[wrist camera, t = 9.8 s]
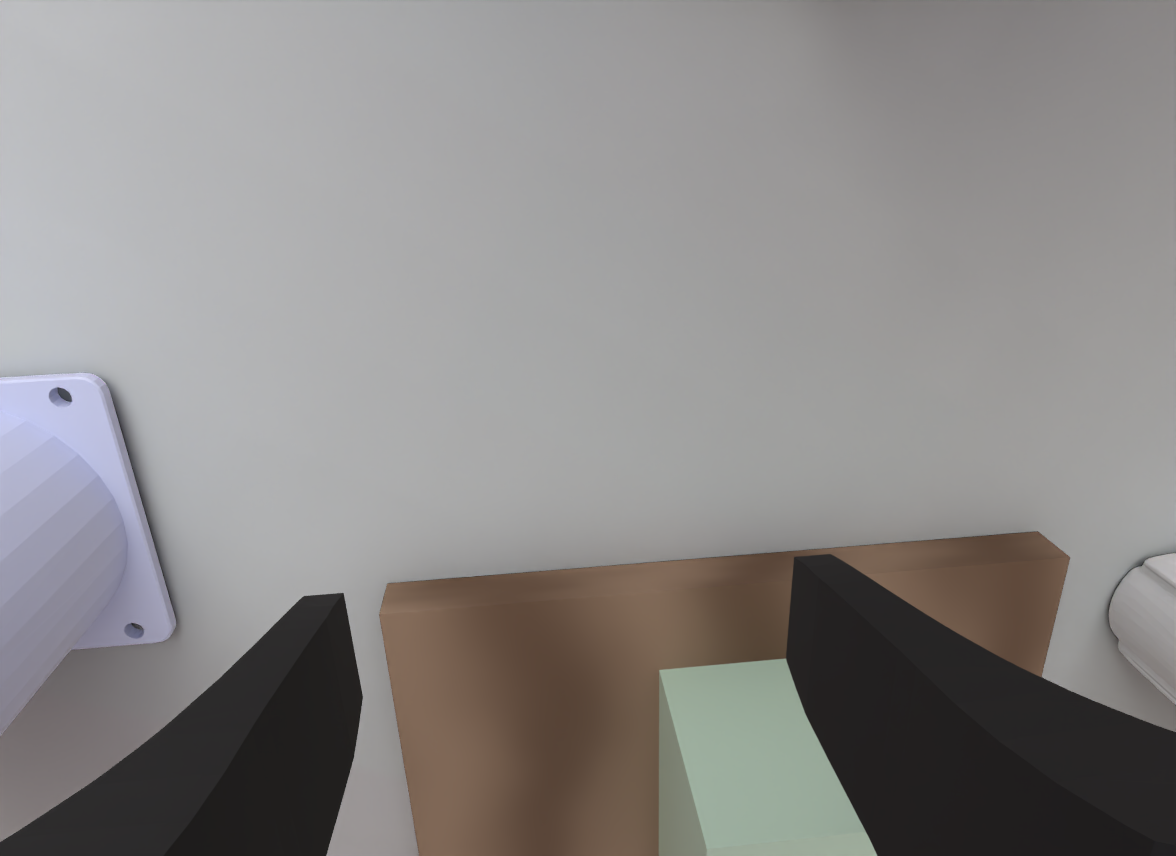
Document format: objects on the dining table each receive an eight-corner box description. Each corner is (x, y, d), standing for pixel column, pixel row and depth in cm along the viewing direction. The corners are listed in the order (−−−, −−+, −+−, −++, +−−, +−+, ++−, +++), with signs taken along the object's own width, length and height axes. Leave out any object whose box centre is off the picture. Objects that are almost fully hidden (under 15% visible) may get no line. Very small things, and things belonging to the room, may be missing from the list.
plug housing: (658, 860, 26) (698, 1064, 20) (659, 670, 23) (706, 848, 17) (786, 847, 26) (860, 1043, 21) (804, 656, 23) (896, 828, 18)
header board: (438, 909, 28) (427, 1031, 24) (387, 583, 23) (363, 675, 19) (967, 851, 29) (1033, 956, 26) (1038, 531, 24) (1133, 608, 20)
